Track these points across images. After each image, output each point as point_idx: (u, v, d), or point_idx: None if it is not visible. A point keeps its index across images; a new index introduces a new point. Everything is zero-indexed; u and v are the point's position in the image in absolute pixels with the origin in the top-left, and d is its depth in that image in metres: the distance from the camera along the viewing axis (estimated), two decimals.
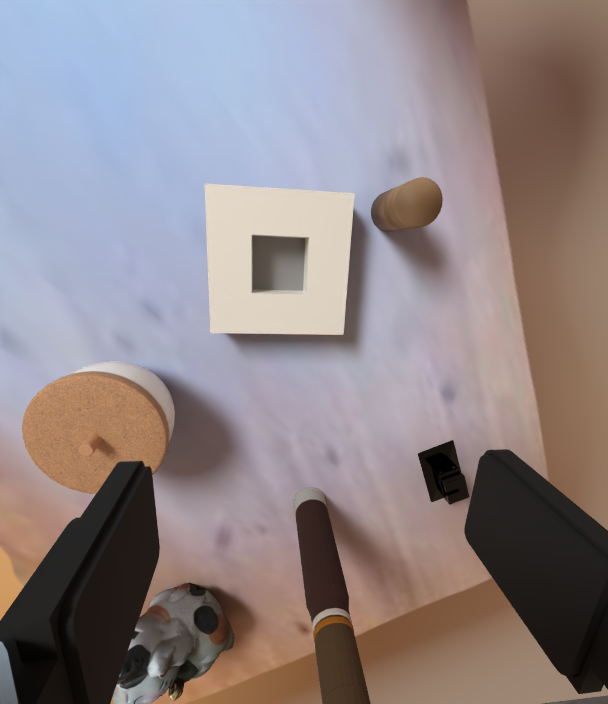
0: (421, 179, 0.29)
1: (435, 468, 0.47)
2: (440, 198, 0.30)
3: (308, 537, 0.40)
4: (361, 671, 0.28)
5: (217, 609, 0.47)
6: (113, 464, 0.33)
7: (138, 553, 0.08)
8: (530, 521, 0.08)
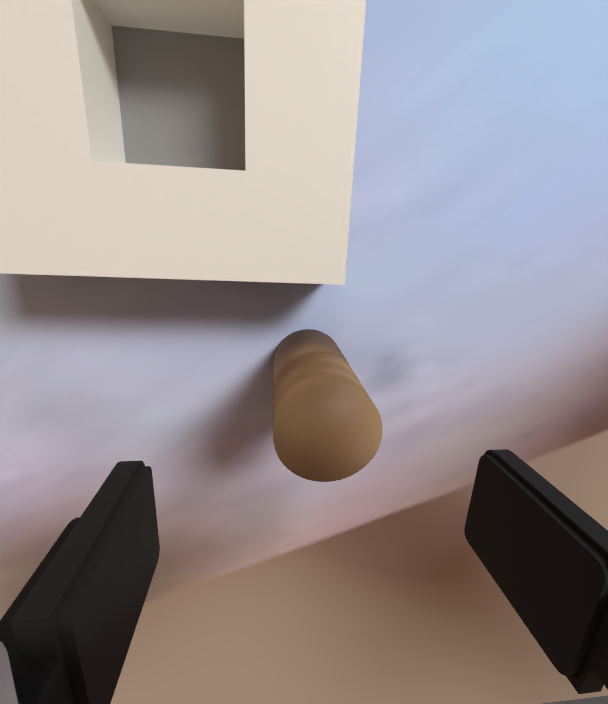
0: (378, 430, 0.13)
1: None
2: (337, 476, 0.13)
3: None
4: None
5: None
6: None
7: (138, 553, 0.08)
8: (530, 521, 0.08)
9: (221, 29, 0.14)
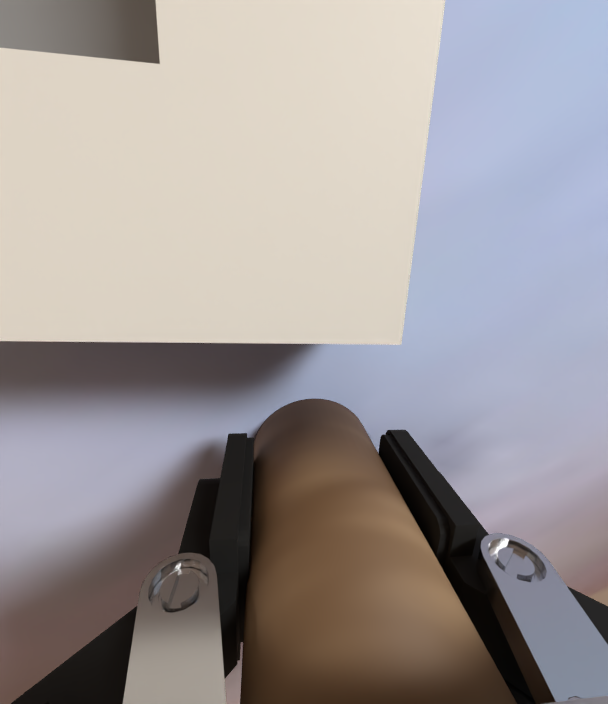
0: None
1: None
2: None
3: None
4: None
5: None
6: None
7: None
8: (405, 490, 0.09)
9: None
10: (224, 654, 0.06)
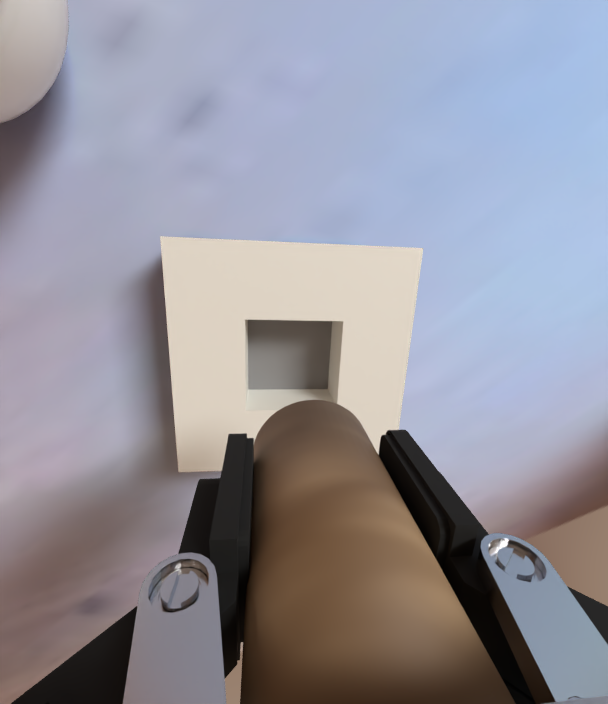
0: None
1: None
2: None
3: None
4: None
5: None
6: None
7: None
8: (405, 490, 0.09)
9: None
10: (224, 654, 0.06)
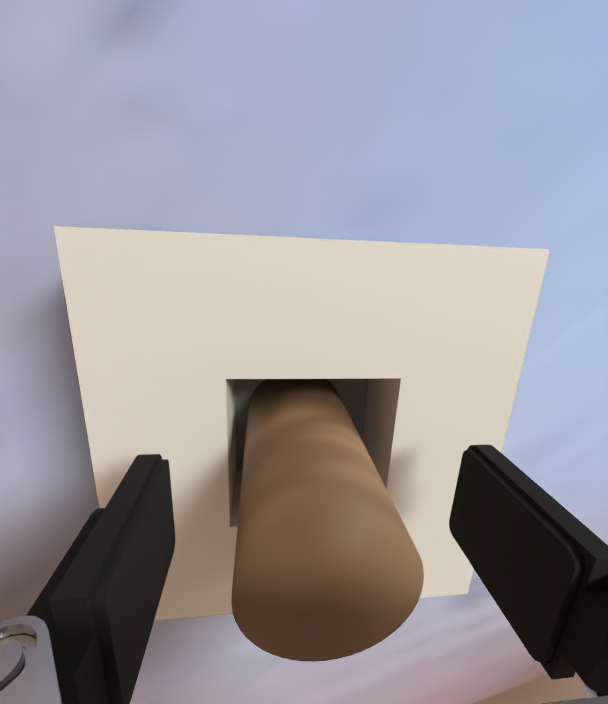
0: (416, 578, 0.07)
1: None
2: (346, 651, 0.08)
3: None
4: None
5: None
6: None
7: (158, 542, 0.08)
8: (508, 513, 0.08)
9: None
10: None
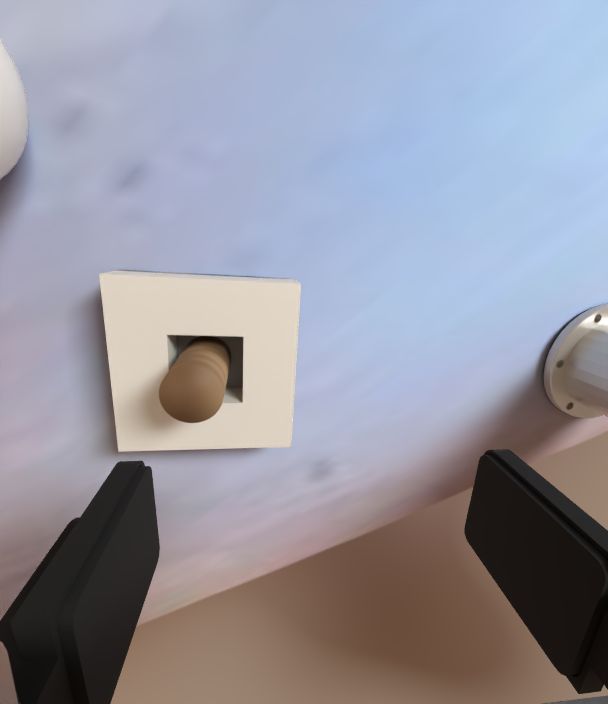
0: (220, 391, 0.22)
1: None
2: (200, 419, 0.22)
3: None
4: None
5: None
6: None
7: (138, 553, 0.08)
8: (530, 521, 0.08)
9: None
10: None
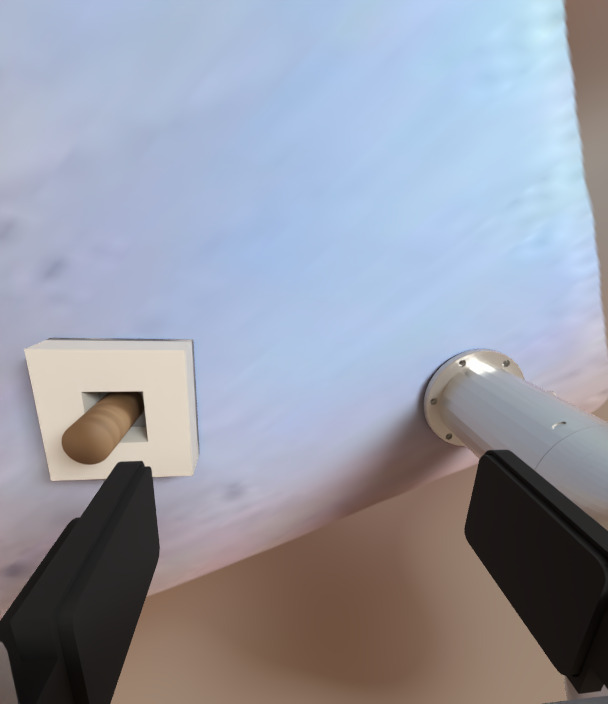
0: (109, 440, 0.29)
1: None
2: (96, 462, 0.30)
3: None
4: None
5: None
6: None
7: (138, 553, 0.08)
8: (530, 521, 0.08)
9: None
10: None
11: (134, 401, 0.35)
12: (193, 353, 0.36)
